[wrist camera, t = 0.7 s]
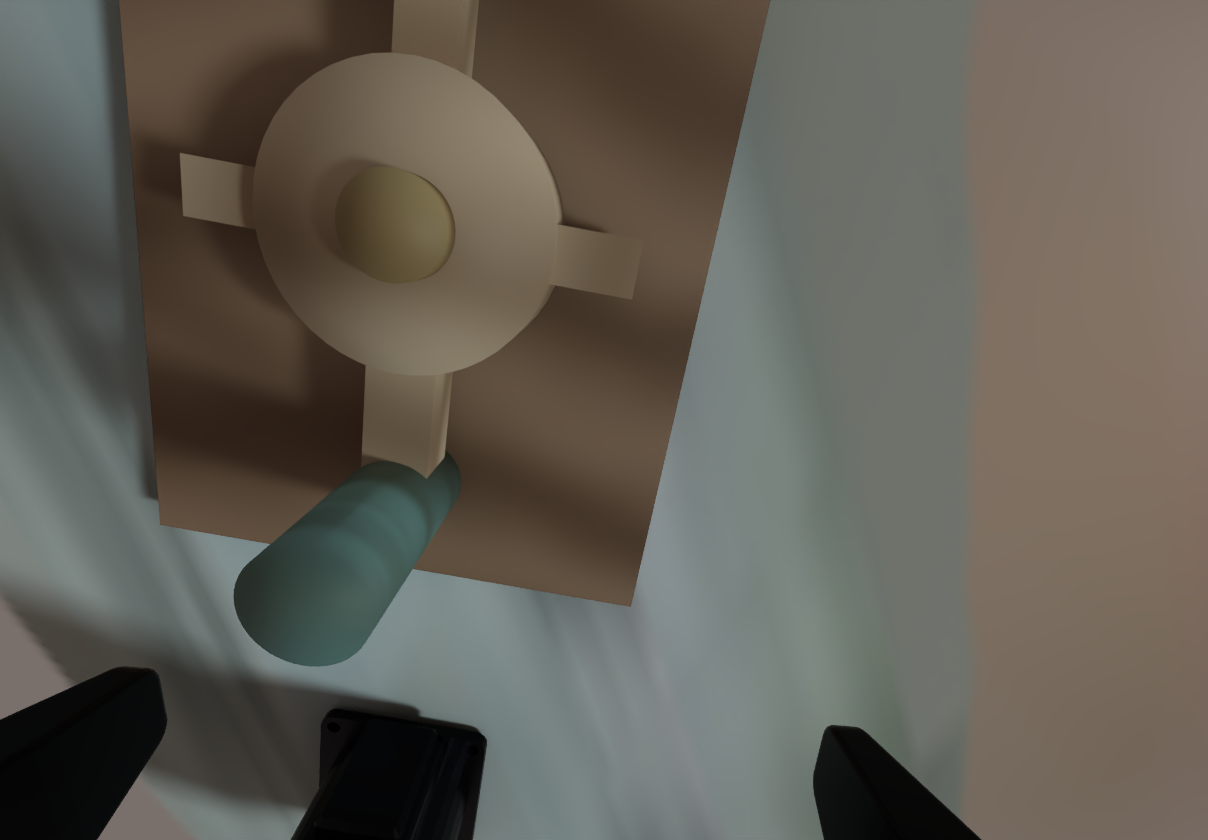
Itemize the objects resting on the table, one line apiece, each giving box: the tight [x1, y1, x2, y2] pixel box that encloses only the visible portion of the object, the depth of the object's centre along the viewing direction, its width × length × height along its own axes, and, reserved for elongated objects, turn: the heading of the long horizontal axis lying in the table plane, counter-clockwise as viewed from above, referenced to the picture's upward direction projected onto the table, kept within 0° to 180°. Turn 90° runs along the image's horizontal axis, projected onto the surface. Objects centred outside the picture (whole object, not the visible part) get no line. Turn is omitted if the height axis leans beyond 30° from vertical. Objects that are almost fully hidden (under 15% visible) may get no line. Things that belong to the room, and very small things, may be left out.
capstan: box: [180, 0, 643, 666], centre depth 13 cm, size 14×11×6 cm
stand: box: [119, 0, 770, 607], centre depth 14 cm, size 20×16×6 cm
